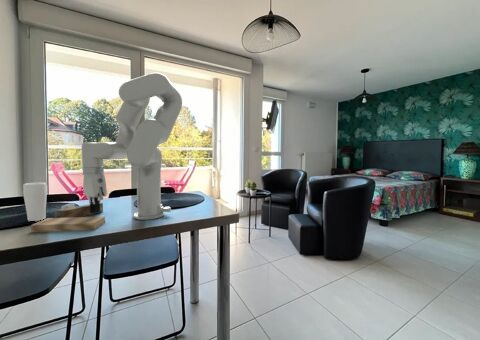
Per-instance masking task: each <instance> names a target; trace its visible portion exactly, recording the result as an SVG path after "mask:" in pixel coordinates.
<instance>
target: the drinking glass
mask: <svg viewBox="0 0 480 340" xmlns="http://www.w3.org/2000/svg"><path fill="white" fill-rule="evenodd" d="M47 187H48V186H47V182H45V181H44V182H43V181H42V182H40V181H38V182H28V183H23V185H22V192H23V199H24V204H25V211H26V216H27V221H28V222H30V221H35V222H40V220H41V221H42V220H43V219H47V218H46V217H47V213H46V212H47V211H46V209H47V197H48V196H47V194H48V192H47V191H48V188H47Z"/></svg>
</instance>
